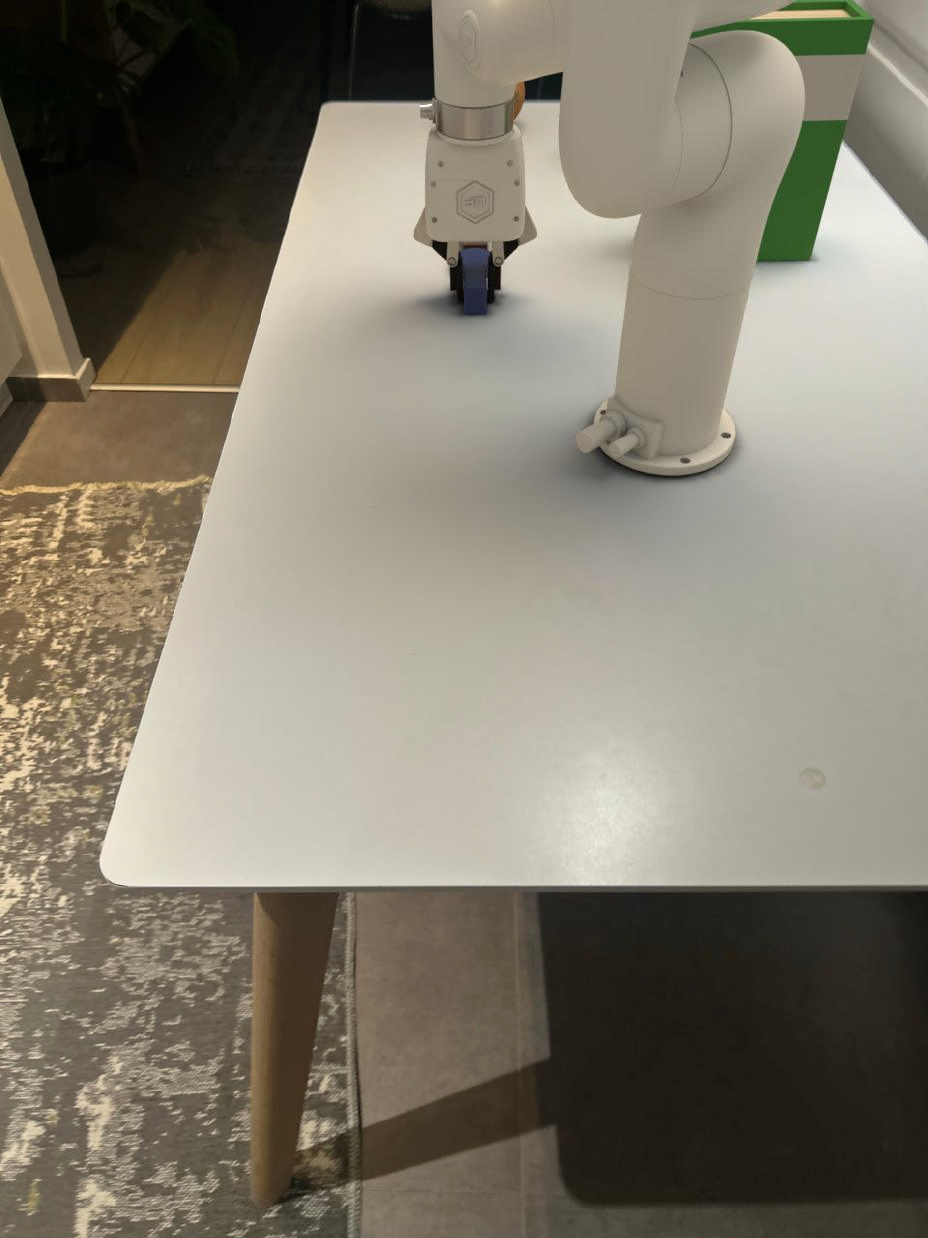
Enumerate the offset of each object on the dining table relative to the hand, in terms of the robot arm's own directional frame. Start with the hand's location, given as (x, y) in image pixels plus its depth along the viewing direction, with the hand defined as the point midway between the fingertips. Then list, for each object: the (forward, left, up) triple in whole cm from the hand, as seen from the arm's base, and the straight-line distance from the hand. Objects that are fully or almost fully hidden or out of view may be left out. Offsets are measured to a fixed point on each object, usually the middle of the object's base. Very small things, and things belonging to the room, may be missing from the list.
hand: (475, 294), depth 102 cm
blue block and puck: (+1, +2, 0) cm, 2 cm away
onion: (+35, +37, 0) cm, 51 cm away
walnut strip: (+12, +14, 0) cm, 19 cm away
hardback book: (+30, -11, 0) cm, 32 cm away
